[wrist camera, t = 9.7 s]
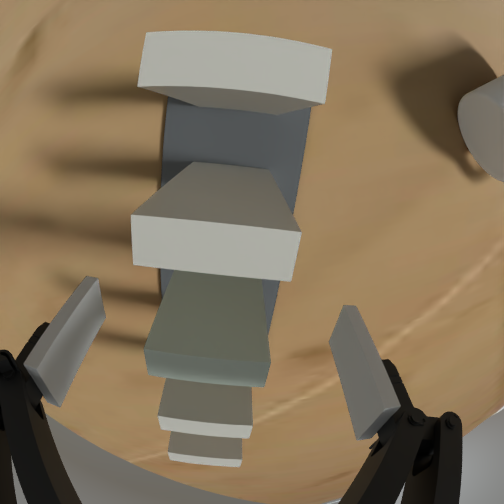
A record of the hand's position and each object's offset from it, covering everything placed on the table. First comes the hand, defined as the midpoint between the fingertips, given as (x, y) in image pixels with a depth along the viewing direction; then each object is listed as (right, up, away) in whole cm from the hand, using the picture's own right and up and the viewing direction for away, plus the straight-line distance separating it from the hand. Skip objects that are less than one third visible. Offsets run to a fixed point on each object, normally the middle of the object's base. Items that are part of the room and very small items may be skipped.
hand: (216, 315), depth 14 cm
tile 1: (+1, +14, +3) cm, 14 cm away
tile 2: (0, +8, +5) cm, 10 cm away
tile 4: (-1, -2, +10) cm, 11 cm away
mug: (+26, +15, +4) cm, 30 cm away
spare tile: (-1, +3, +8) cm, 9 cm away
